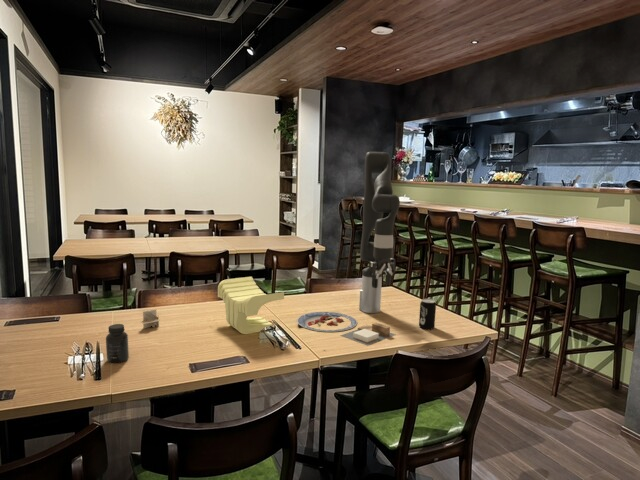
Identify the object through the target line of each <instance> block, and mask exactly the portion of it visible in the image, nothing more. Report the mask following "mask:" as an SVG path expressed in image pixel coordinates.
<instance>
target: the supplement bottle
mask: <svg viewBox="0 0 640 480" xmlns="http://www.w3.org/2000/svg"><path fill="white" fill-rule="evenodd" d="M105 348H106V361H107V362H108V363H110V364H113V365H114V364H115V365H116V364H122V363H124V362H127V361H128V360H129V358H130V354H129V353H130V351H129V350H130V349H129V335H128V333H127V332H126V331H125V324H122V323H114V324H110V325H109V326H108V334H107V335H106V337H105Z"/></svg>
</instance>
